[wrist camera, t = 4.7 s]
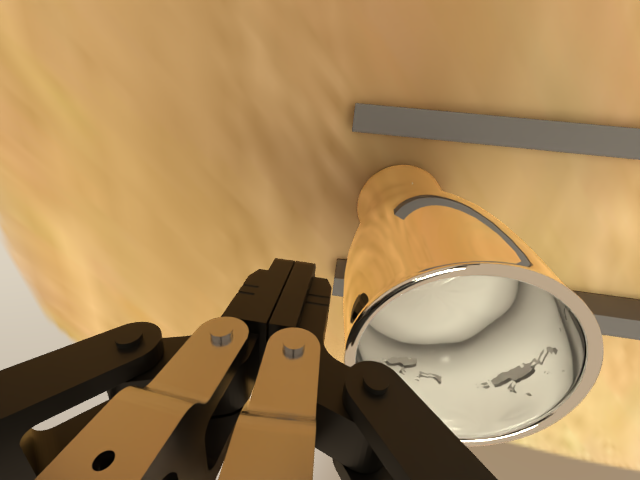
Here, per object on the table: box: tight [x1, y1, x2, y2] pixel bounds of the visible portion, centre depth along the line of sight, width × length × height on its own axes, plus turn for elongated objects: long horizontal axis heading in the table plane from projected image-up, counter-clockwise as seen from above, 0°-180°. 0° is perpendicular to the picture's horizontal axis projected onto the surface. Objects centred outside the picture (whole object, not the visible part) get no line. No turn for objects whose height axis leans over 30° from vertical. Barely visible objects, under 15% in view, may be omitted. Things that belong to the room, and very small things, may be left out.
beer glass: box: [343, 165, 603, 447], centre depth 15 cm, size 7×7×15 cm
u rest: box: [332, 103, 640, 340], centre depth 19 cm, size 13×26×3 cm, turn 85°
